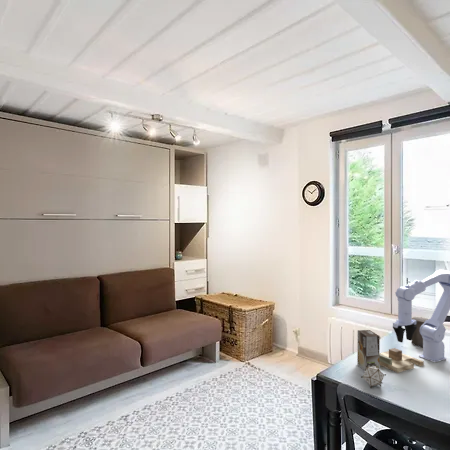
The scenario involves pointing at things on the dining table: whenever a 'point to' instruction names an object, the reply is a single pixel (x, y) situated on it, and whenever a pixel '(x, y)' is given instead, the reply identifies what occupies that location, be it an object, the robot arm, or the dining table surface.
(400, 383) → the dining table surface
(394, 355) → the walnut block
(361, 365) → the coffee box
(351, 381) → the dining table surface
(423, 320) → the dark brown upright box
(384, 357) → the trap deck
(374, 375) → the game die
